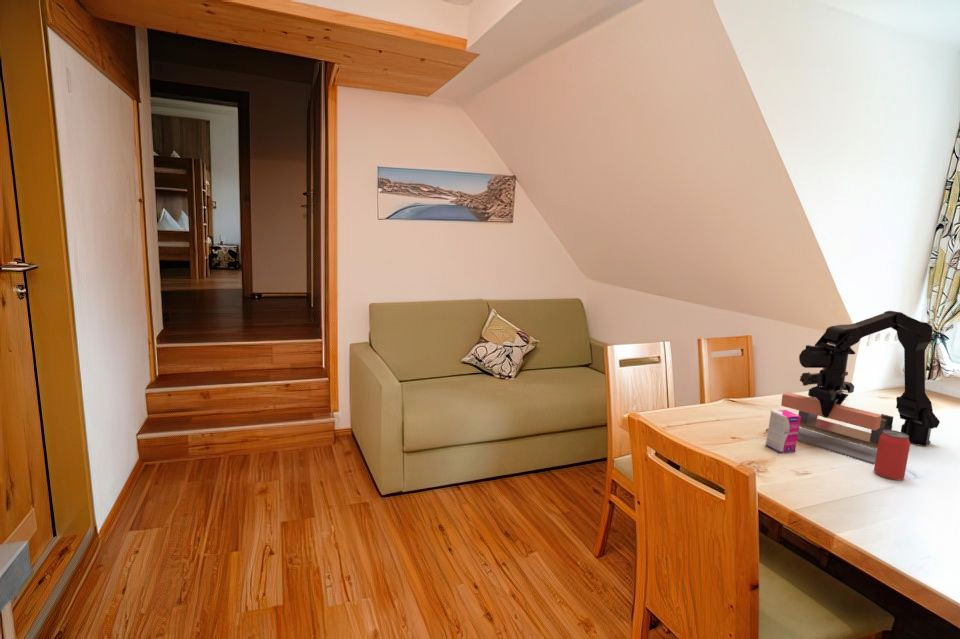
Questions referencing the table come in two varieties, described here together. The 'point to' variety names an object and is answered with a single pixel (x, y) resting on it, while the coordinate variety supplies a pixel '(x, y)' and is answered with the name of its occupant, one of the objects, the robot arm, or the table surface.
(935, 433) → the table surface
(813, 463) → the table surface
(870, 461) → the slate mat
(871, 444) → the rail rack
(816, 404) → the rail
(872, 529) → the table surface
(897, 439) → the beer can
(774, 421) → the supplement box
